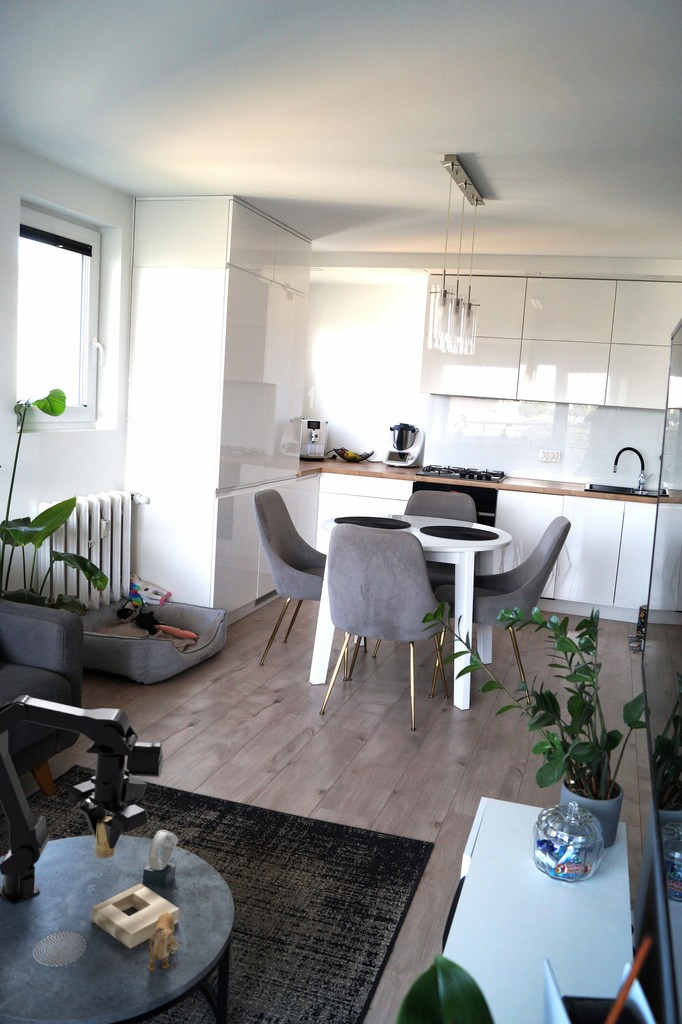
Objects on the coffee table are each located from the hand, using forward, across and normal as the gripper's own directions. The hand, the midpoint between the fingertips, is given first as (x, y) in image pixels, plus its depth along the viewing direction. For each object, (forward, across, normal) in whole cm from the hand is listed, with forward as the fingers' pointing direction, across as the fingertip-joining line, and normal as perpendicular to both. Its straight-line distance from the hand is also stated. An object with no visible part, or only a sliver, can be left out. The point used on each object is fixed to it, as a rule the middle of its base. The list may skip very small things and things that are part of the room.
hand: (105, 843), depth 178 cm
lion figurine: (+12, -23, +4) cm, 26 cm away
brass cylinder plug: (+2, 0, 0) cm, 2 cm away
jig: (+12, -11, 0) cm, 16 cm away
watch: (+12, -3, -13) cm, 18 cm away
